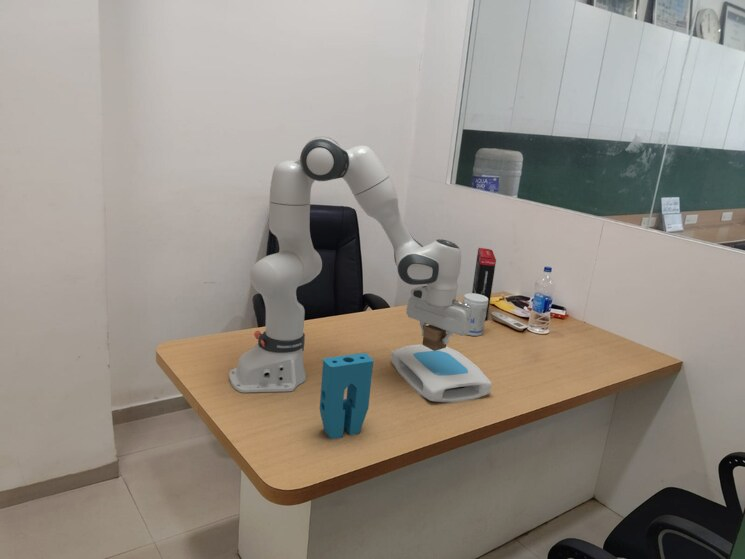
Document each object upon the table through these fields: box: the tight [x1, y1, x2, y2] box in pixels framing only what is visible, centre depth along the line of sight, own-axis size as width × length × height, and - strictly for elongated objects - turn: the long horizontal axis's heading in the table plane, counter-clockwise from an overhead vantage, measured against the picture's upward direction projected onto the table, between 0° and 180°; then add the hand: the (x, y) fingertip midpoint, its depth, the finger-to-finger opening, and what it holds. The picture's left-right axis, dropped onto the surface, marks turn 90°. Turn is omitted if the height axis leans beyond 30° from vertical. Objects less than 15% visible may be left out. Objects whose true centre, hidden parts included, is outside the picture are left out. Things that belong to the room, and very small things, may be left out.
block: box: [319, 352, 374, 440], centre depth 136 cm, size 12×5×20 cm, turn 119°
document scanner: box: [390, 343, 493, 404], centre depth 171 cm, size 21×28×6 cm
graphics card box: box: [471, 247, 497, 321], centre depth 232 cm, size 17×7×27 cm, turn 174°
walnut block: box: [421, 324, 447, 351], centre depth 161 cm, size 5×5×6 cm
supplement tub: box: [462, 292, 488, 337], centre depth 212 cm, size 10×10×15 cm
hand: (434, 339), depth 162 cm, fingers closed on walnut block, 5 cm apart
